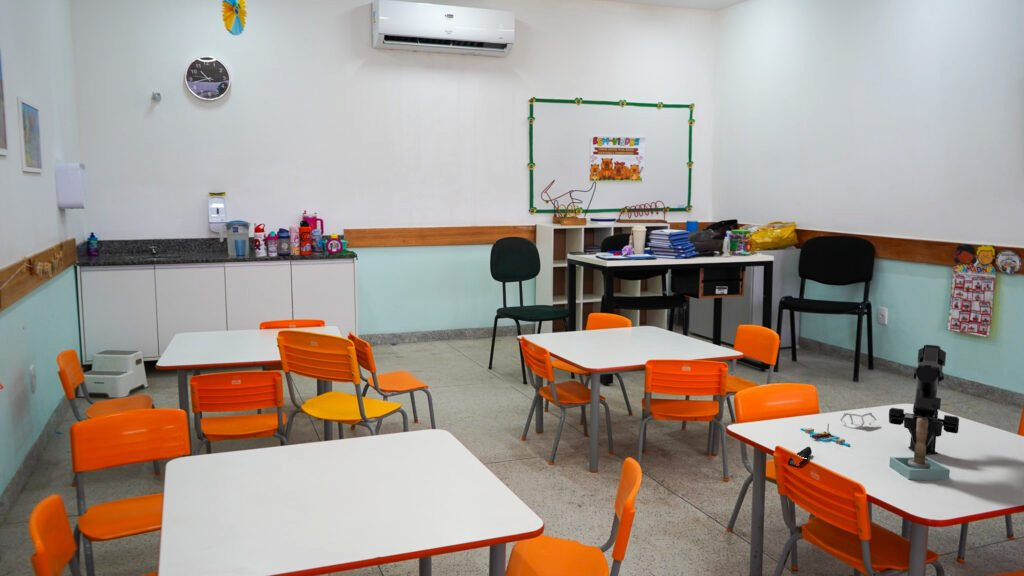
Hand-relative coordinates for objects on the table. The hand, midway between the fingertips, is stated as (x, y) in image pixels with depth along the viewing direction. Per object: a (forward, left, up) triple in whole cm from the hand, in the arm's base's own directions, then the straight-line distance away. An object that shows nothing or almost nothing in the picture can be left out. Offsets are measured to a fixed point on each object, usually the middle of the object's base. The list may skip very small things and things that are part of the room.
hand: (920, 444), depth 225 cm
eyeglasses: (-7, -49, -10) cm, 50 cm away
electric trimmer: (+31, -13, -10) cm, 35 cm away
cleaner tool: (-1, -1, -7) cm, 7 cm away
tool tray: (-1, -1, -9) cm, 9 cm away
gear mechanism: (+13, -35, -10) cm, 38 cm away
